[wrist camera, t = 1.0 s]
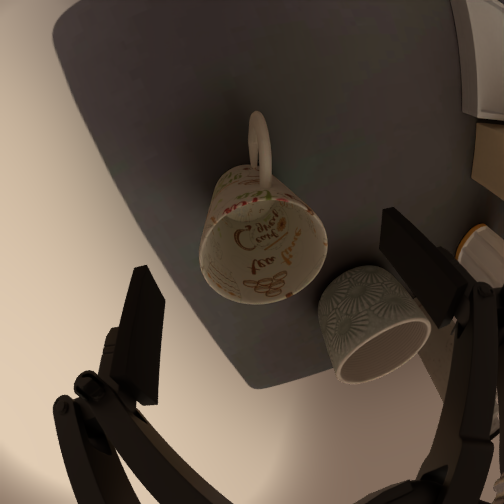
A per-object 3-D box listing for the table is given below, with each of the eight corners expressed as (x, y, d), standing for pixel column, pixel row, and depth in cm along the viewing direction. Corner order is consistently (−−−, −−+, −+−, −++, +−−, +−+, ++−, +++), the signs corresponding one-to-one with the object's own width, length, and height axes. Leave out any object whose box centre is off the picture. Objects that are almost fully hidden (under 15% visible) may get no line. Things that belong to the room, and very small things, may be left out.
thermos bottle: (439, 286, 39) (520, 416, 17) (427, 316, 44) (493, 435, 22) (404, 299, 39) (485, 447, 17) (394, 329, 44) (457, 461, 22)
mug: (206, 236, 28) (208, 310, 20) (192, 108, 20) (180, 129, 12) (288, 228, 28) (319, 296, 20) (291, 104, 21) (342, 123, 13)
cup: (496, 234, 35) (554, 296, 21) (461, 280, 40) (512, 348, 26) (481, 205, 31) (557, 276, 17) (440, 260, 36) (505, 342, 22)
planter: (356, 238, 31) (404, 305, 22) (404, 275, 36) (443, 330, 27) (290, 308, 36) (313, 380, 27) (347, 329, 41) (373, 387, 32)
